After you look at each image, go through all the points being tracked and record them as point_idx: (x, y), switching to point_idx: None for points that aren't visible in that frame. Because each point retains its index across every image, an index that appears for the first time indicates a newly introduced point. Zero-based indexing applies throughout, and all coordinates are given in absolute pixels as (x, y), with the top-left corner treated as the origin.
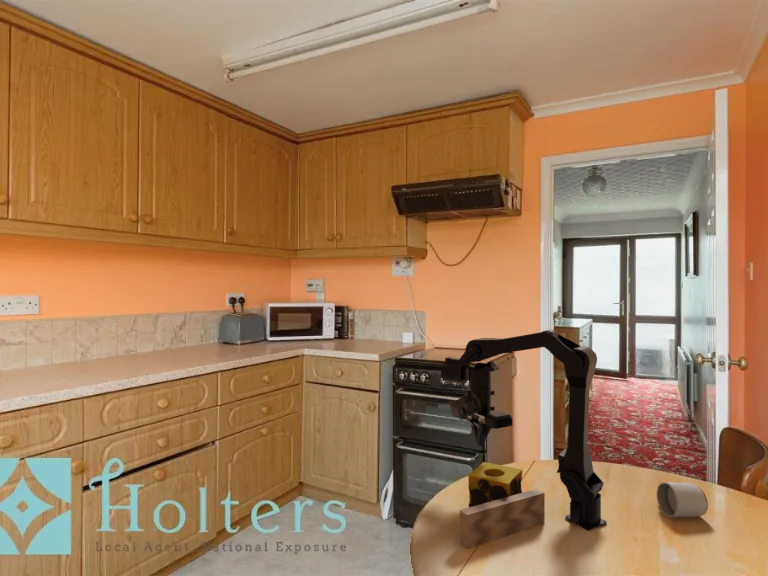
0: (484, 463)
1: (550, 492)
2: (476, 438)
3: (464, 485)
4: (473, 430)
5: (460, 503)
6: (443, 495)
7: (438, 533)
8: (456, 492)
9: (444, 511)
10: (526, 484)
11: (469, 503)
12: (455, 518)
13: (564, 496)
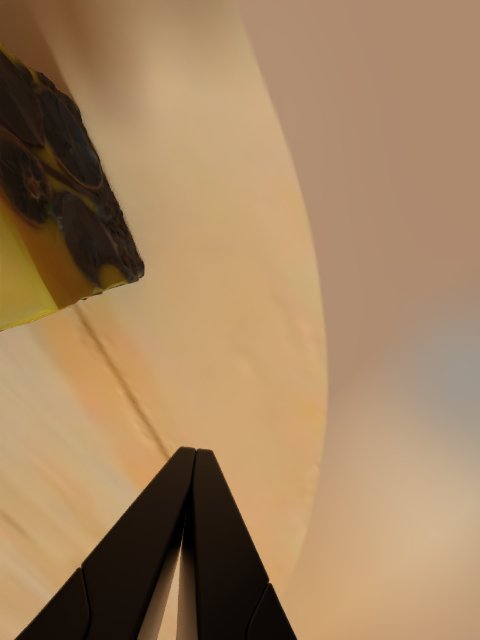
0: (20, 287)
1: (68, 494)
2: (208, 504)
3: (292, 315)
4: (265, 631)
5: (184, 168)
6: (286, 167)
7: None
8: (269, 238)
9: (167, 34)
10: None
11: (32, 70)
12: (85, 22)
13: (24, 502)
